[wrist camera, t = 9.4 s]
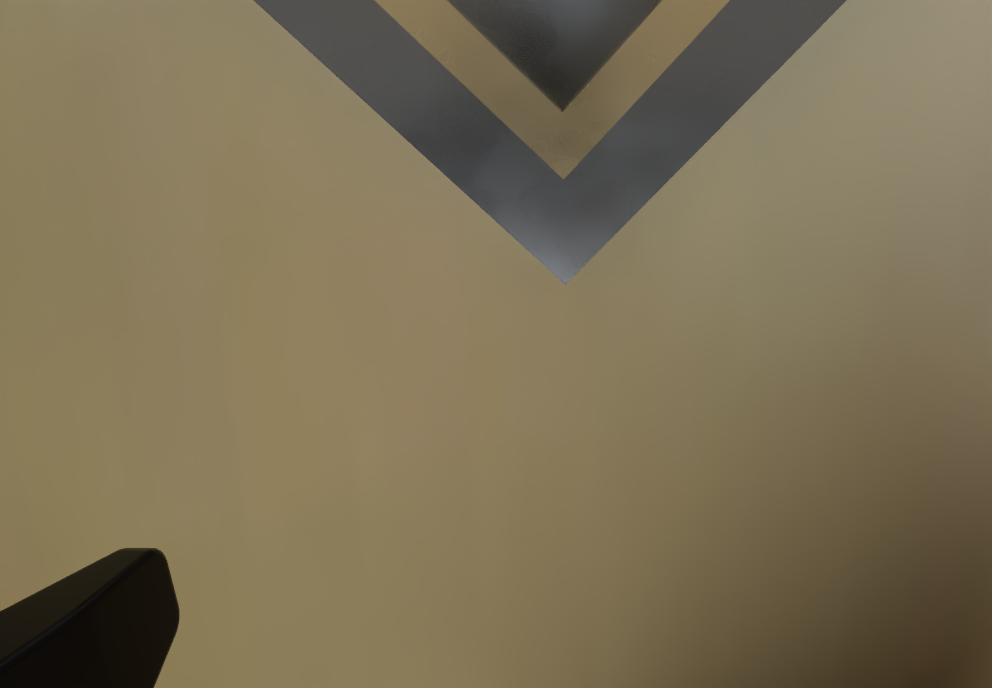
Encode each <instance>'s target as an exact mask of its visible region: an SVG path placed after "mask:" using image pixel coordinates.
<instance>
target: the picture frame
mask: <svg viewBox="0 0 992 688" xmlns="http://www.w3.org/2000/svg"><path fill="white" fill-rule="evenodd" d="M254 1H255V2H256V3H257V4H258V5H259V6H260V7H262V8H263V9H264V10H265V11H266V12H267V13H268V14H269V15H270V16H271V17H273V18H274V19H275V20H276V21H277V22H278V23H279V24H280V25H281V26H282V27H283V28H285V29H286V30H287V31H288V32H289V33H290V34H291V35H292V36H293V37H294V38H296V39H297V40H298V41H299V42H300V43H301V44H302V45H303V46H304V47H305V48H307V49H308V50H309V51H310V52H311V53H312V54H313V55H314V56H315V57H316V58H317V59H319V60H320V61H321V62H322V63H323V64H324V65H325V66H326V67H327V68H328V69H330V70H331V71H332V72H333V73H334V74H335V75H336V76H337V77H338V78H339V79H341V80H342V81H343V82H344V83H345V84H346V85H347V86H348V87H349V88H350V89H351V90H353V91H354V92H355V93H356V94H357V95H358V96H359V97H360V98H361V99H362V100H364V101H365V102H366V103H367V104H368V105H369V106H370V107H371V108H372V109H373V110H375V111H376V112H377V113H378V114H379V115H380V116H381V117H382V118H383V119H384V120H385V121H387V122H388V123H389V124H390V125H391V126H392V127H393V128H394V129H395V130H396V131H398V132H399V133H400V134H401V135H402V136H403V137H404V138H405V139H406V140H407V141H409V142H410V143H411V144H412V145H413V146H414V147H415V148H416V149H417V150H418V151H419V152H421V153H422V154H423V155H424V156H425V157H426V158H427V159H428V160H429V161H430V162H432V163H433V164H434V165H435V166H436V167H437V168H438V169H439V170H440V171H441V172H443V173H444V174H445V175H446V176H447V177H448V178H449V179H450V180H451V181H452V182H453V183H455V184H456V185H457V186H458V187H459V188H460V189H461V190H462V191H463V192H464V193H466V194H467V195H468V196H469V197H470V198H471V199H472V200H473V201H474V202H475V203H477V204H478V205H479V206H480V207H481V208H482V209H483V210H484V211H485V212H486V213H487V214H489V215H490V216H491V217H492V218H493V219H494V220H495V221H496V222H497V223H498V224H500V225H501V226H502V227H503V228H504V229H505V230H506V231H507V232H508V233H509V234H511V235H512V236H513V237H514V238H515V239H516V240H517V241H518V242H519V243H520V244H521V245H523V246H524V247H525V248H526V249H527V250H528V251H529V252H530V253H531V254H532V255H534V256H535V257H536V258H537V259H538V260H539V261H540V262H541V263H542V264H543V265H544V266H546V267H547V268H548V269H549V270H550V271H551V272H552V273H553V274H554V275H555V276H557V277H558V278H559V279H560V280H561V281H562V282H563V283H564V284H566V283H567V282H568V281H569V280H570V279H571V278H572V277H573V276H574V275H575V274H576V273H577V272H578V271H579V270H580V269H581V268H582V267H583V266H584V265H585V264H586V263H587V262H588V261H589V260H590V259H591V258H592V257H593V256H594V255H595V254H596V253H597V252H598V251H599V250H600V249H601V248H602V247H603V246H604V245H605V244H606V243H607V242H608V241H609V240H610V239H611V238H612V237H613V236H614V235H615V234H616V233H617V232H618V231H619V230H620V229H621V228H622V227H623V226H624V225H625V224H626V223H627V222H628V221H629V220H630V219H631V218H632V217H633V216H634V215H635V214H636V213H637V212H638V211H639V210H640V209H641V208H642V207H643V206H644V205H645V204H646V203H647V202H648V200H649V199H650V198H651V197H652V196H653V195H654V194H655V193H656V192H657V191H658V190H659V189H660V188H661V187H662V186H663V185H664V184H665V183H666V182H667V181H668V180H669V179H670V178H671V177H672V176H673V175H674V174H675V173H676V172H677V171H678V170H679V169H680V168H681V167H682V166H683V165H684V164H685V163H686V162H687V161H688V160H689V159H690V158H691V157H692V156H693V155H694V154H695V153H696V152H697V151H698V150H699V149H700V148H701V147H702V146H703V145H704V144H705V143H706V142H707V141H708V140H709V139H710V138H711V137H712V136H713V135H714V134H715V133H716V132H717V131H718V130H719V129H720V128H721V127H722V126H723V125H724V124H725V123H726V122H727V121H728V120H729V119H730V118H731V117H732V116H733V115H734V114H735V113H736V111H737V110H738V109H739V108H740V107H741V106H742V105H743V104H744V103H745V102H746V101H747V100H748V99H749V98H750V97H751V96H752V95H753V94H754V93H755V92H756V91H757V90H758V89H759V88H760V87H761V86H762V85H763V84H764V83H765V82H766V81H767V80H768V79H769V78H770V77H771V76H772V75H773V74H774V73H775V72H776V71H777V70H778V69H779V68H780V67H781V66H782V65H783V64H784V63H785V62H786V61H787V60H788V59H789V58H790V57H791V56H792V55H793V54H794V53H795V52H796V51H797V50H798V49H799V48H800V47H801V46H802V45H803V44H804V43H805V42H806V41H807V40H808V39H809V38H810V37H811V36H812V35H813V34H814V33H815V32H816V31H817V30H818V29H819V28H820V27H821V26H822V25H823V24H824V22H825V21H826V20H827V19H828V18H829V17H830V16H831V15H832V14H833V13H834V12H835V11H836V10H837V9H838V8H839V7H840V6H841V5H842V4H843V3H844V2H845V1H846V0H254Z"/></svg>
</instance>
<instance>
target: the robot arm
mask: <svg viewBox="0 0 992 688" xmlns="http://www.w3.org/2000/svg"><path fill="white" fill-rule="evenodd" d="M178 624H179V606H178V602H177V598H176V594H175V590H174V586H173V582H172V578H171V574H170V570H169V567H168V563H167V560H166V557H165V555H164V554H163V553H162V552H161V551H160V550H158V549H156V548H124V549H120V550H118V551H116V552H114V553H112V554H110V555H108V556H106V557H104V558H102V559H100V560H98V561H96V562H94V563H93V564H91V565H89V566H87V567H85V568H83V569H81V570H79V571H77V572H75V573H73V574H71V575H69V576H67V577H66V578H64V579H62V580H60V581H58V582H56V583H54V584H52V585H50V586H48V587H46V588H44V589H42V590H41V591H39V592H37V593H35V594H33V595H31V596H29V597H27V598H25V599H23V600H21V601H19V602H17V603H15V604H14V605H12V606H10V607H8V608H6V609H4V610H2V611H0V688H154V686H155V684H156V681H157V679H158V676H159V674H160V671H161V669H162V666H163V664H164V662H165V659H166V657H167V654H168V652H169V649H170V647H171V644H172V642H173V640H174V637H175V635H176V632H177V628H178Z"/></svg>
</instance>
